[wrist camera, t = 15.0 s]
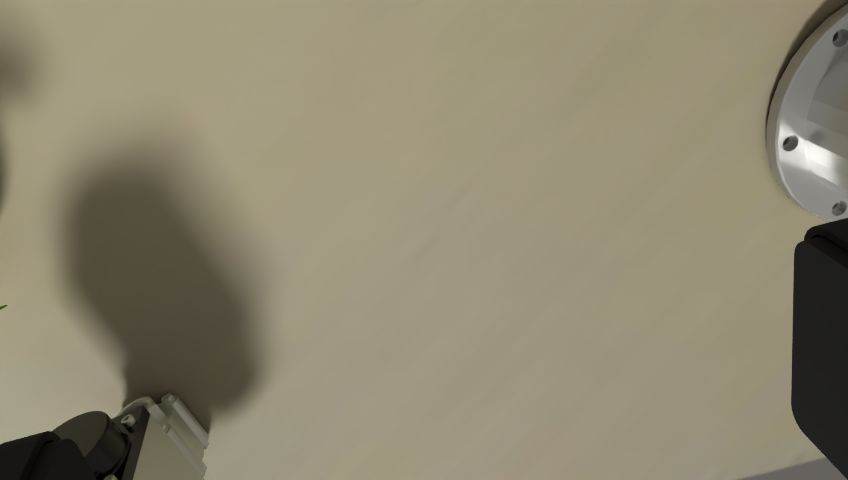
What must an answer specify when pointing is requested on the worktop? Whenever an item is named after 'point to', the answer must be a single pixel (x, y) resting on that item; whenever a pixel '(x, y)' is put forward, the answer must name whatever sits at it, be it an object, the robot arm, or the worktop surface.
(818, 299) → the robot arm
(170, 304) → the worktop surface
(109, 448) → the pneumatic valve
